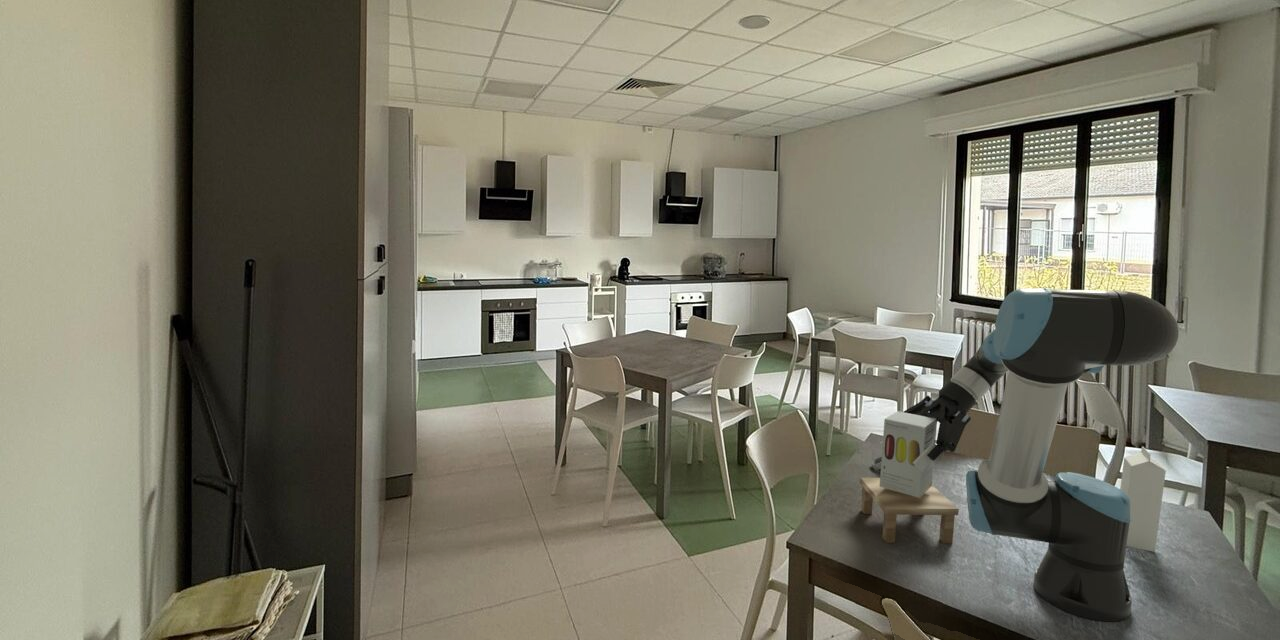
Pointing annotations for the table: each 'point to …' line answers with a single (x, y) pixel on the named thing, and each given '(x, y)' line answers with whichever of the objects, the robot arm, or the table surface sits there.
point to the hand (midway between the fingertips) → (899, 456)
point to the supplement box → (906, 453)
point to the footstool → (907, 507)
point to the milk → (1143, 498)
